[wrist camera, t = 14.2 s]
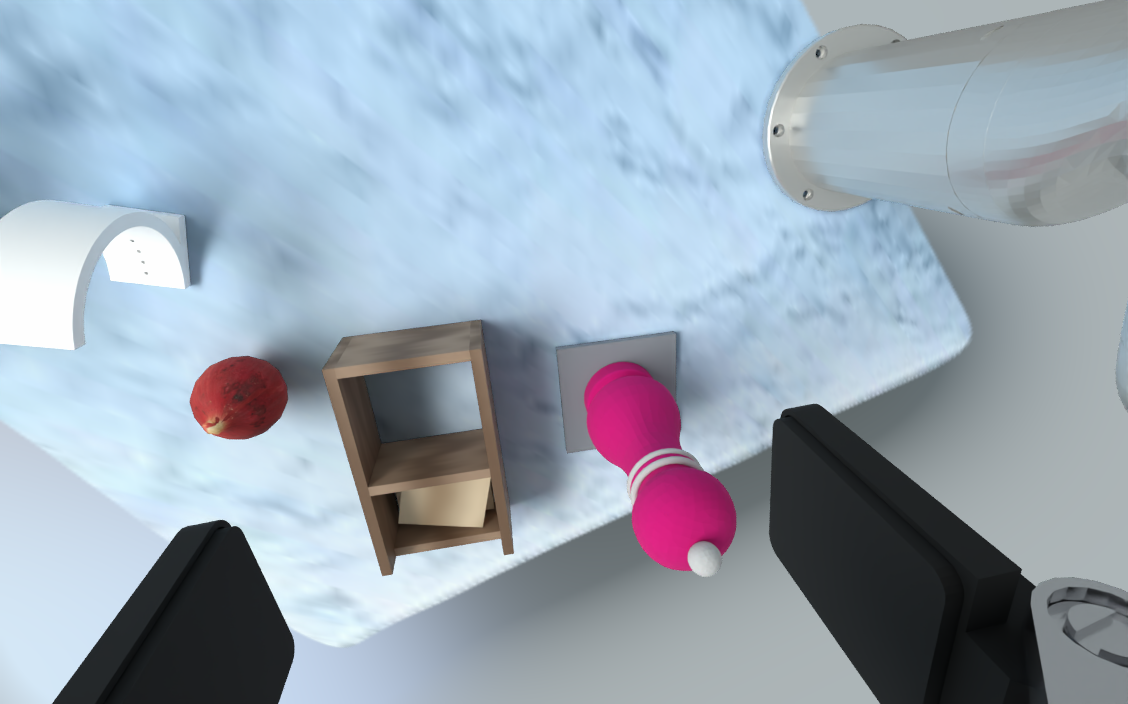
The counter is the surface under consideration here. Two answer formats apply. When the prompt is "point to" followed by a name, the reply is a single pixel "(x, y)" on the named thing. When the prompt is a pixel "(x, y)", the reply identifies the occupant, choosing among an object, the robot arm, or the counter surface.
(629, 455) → the pepper mill
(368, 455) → the box
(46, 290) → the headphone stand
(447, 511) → the upper offcut
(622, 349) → the mat
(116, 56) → the counter surface
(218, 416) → the onion
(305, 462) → the counter surface
